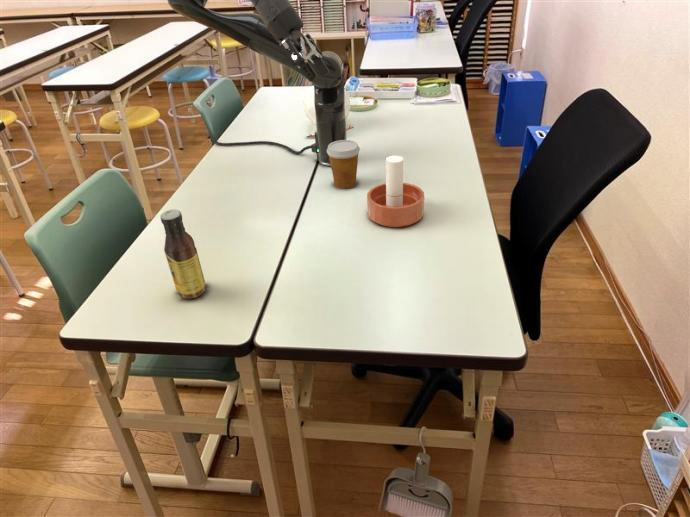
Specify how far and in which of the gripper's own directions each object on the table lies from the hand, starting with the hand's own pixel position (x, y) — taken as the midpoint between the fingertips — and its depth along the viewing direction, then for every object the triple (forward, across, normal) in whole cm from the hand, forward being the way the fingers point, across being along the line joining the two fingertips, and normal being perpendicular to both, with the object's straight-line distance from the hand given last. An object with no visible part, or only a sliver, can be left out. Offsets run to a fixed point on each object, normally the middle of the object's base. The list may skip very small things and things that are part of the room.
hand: (320, 77), depth 122 cm
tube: (+38, -5, -6) cm, 39 cm away
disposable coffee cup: (+26, -20, -20) cm, 38 cm away
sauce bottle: (+22, +37, -38) cm, 58 cm away
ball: (+10, -62, -32) cm, 70 cm away
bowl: (+39, -5, -6) cm, 40 cm away
